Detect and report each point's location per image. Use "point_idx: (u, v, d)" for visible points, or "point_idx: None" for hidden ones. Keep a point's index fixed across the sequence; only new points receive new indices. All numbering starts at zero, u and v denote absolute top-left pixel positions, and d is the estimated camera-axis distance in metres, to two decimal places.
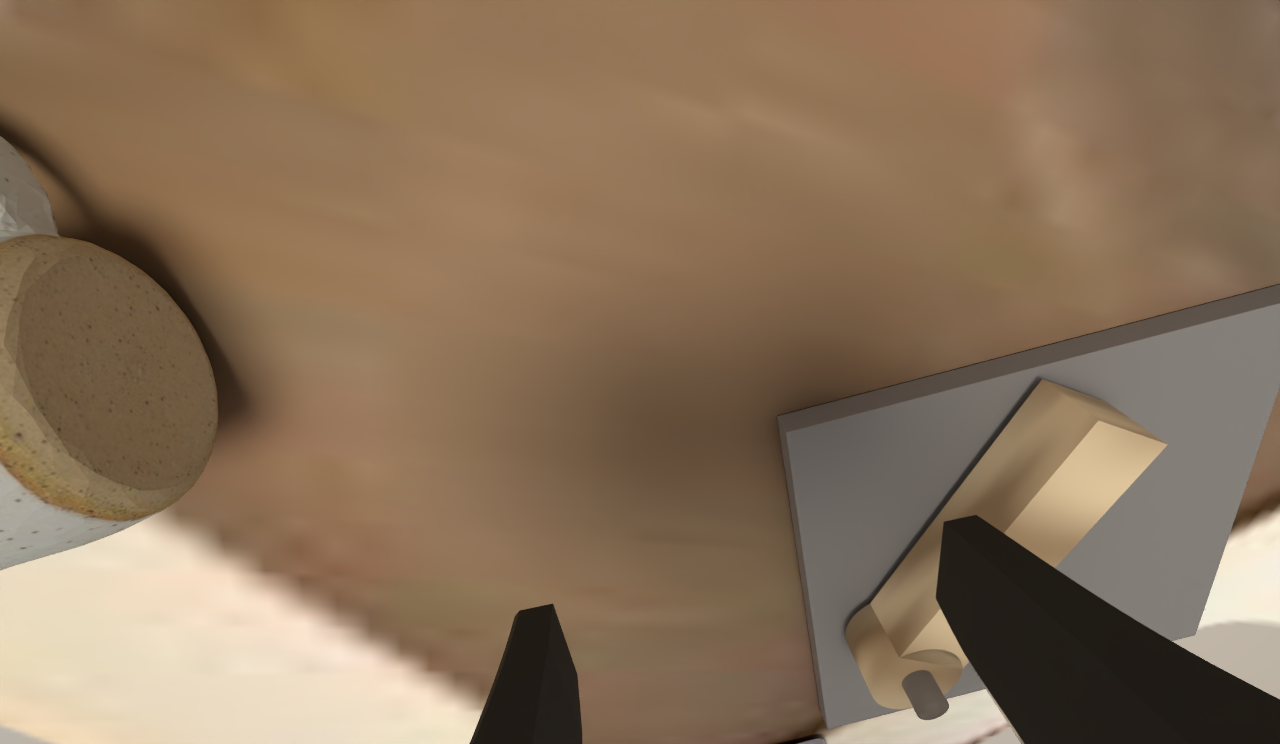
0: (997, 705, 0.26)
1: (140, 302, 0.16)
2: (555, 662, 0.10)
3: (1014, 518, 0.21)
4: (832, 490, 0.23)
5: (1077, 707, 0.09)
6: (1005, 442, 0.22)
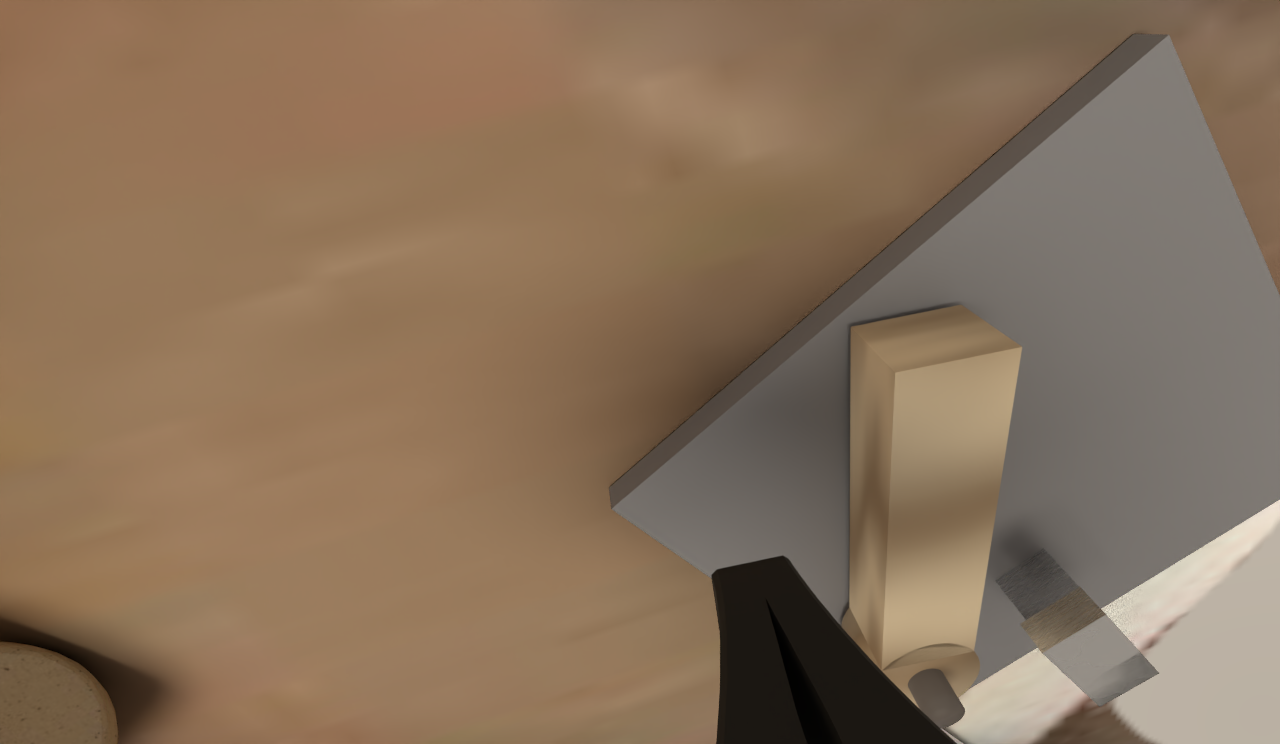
0: None
1: None
2: None
3: (888, 503, 0.16)
4: (711, 531, 0.20)
5: None
6: (856, 409, 0.17)
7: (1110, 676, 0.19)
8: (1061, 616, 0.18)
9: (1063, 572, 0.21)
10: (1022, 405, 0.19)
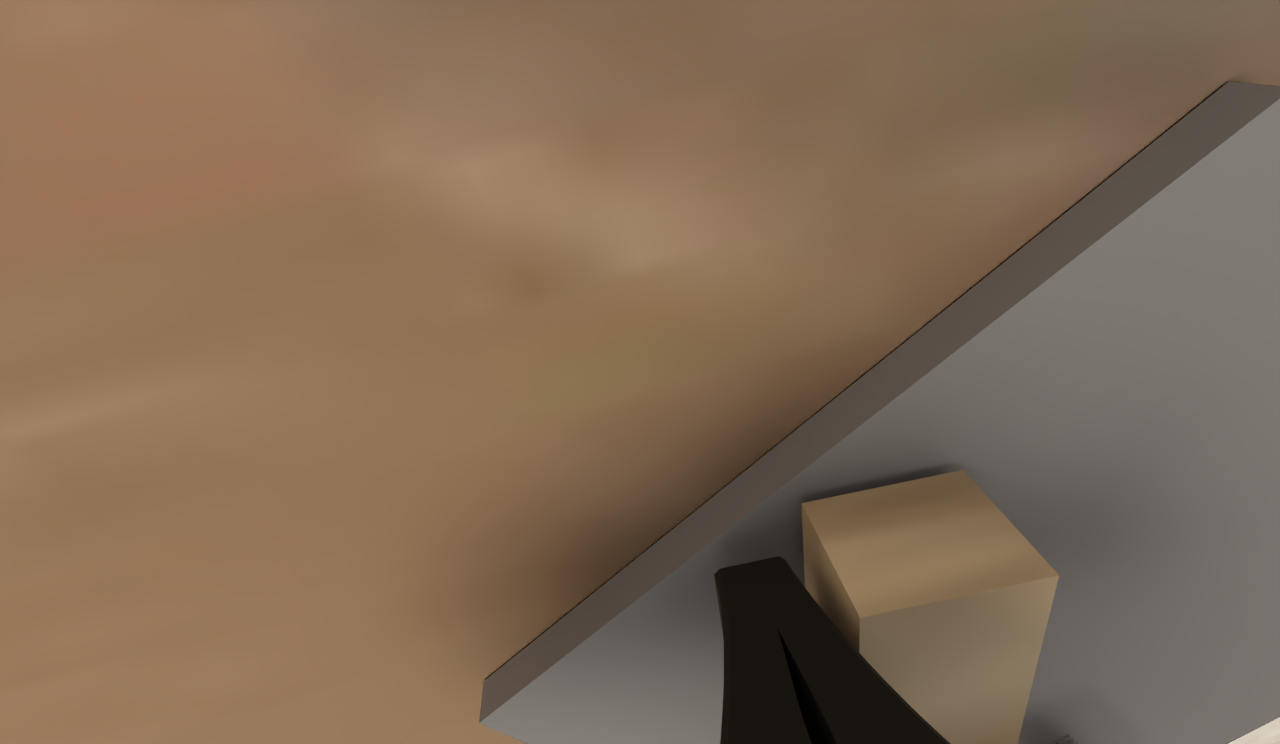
0: None
1: None
2: None
3: None
4: (623, 739, 0.15)
5: None
6: None
7: None
8: None
9: None
10: None
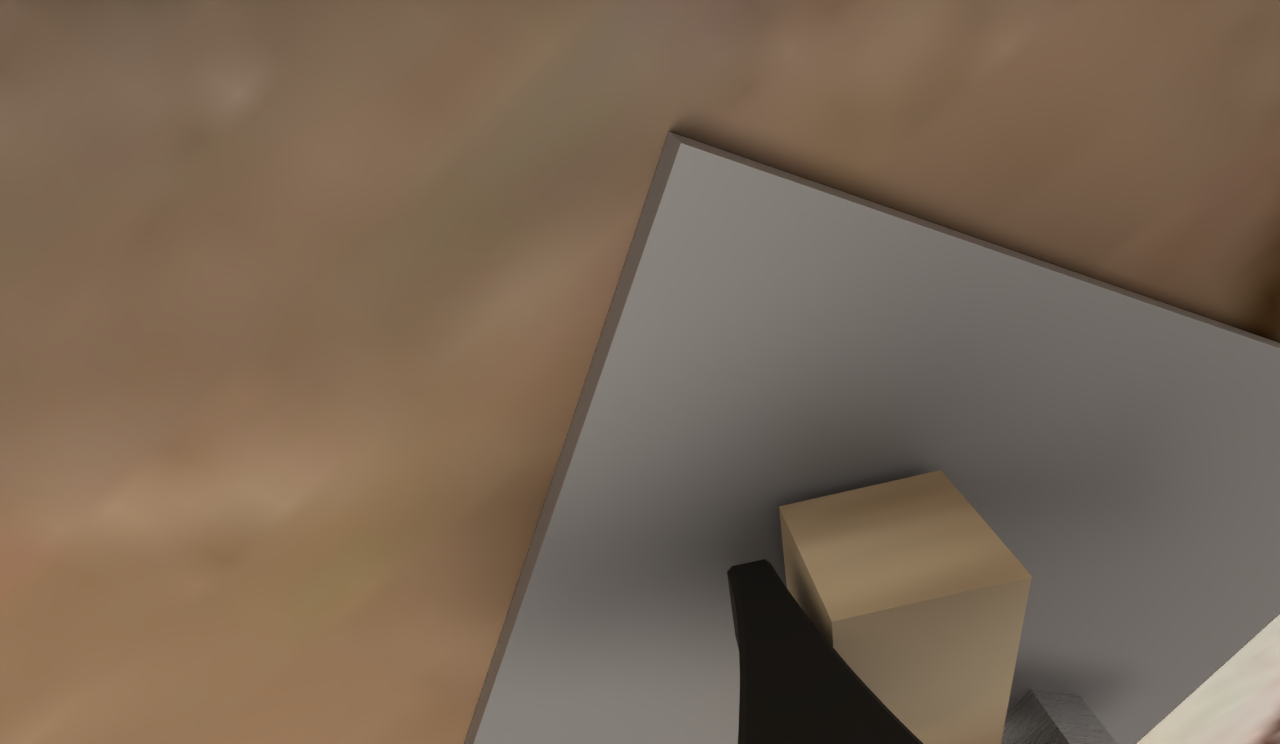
0: None
1: None
2: None
3: None
4: None
5: None
6: None
7: None
8: None
9: (1058, 732, 0.15)
10: None
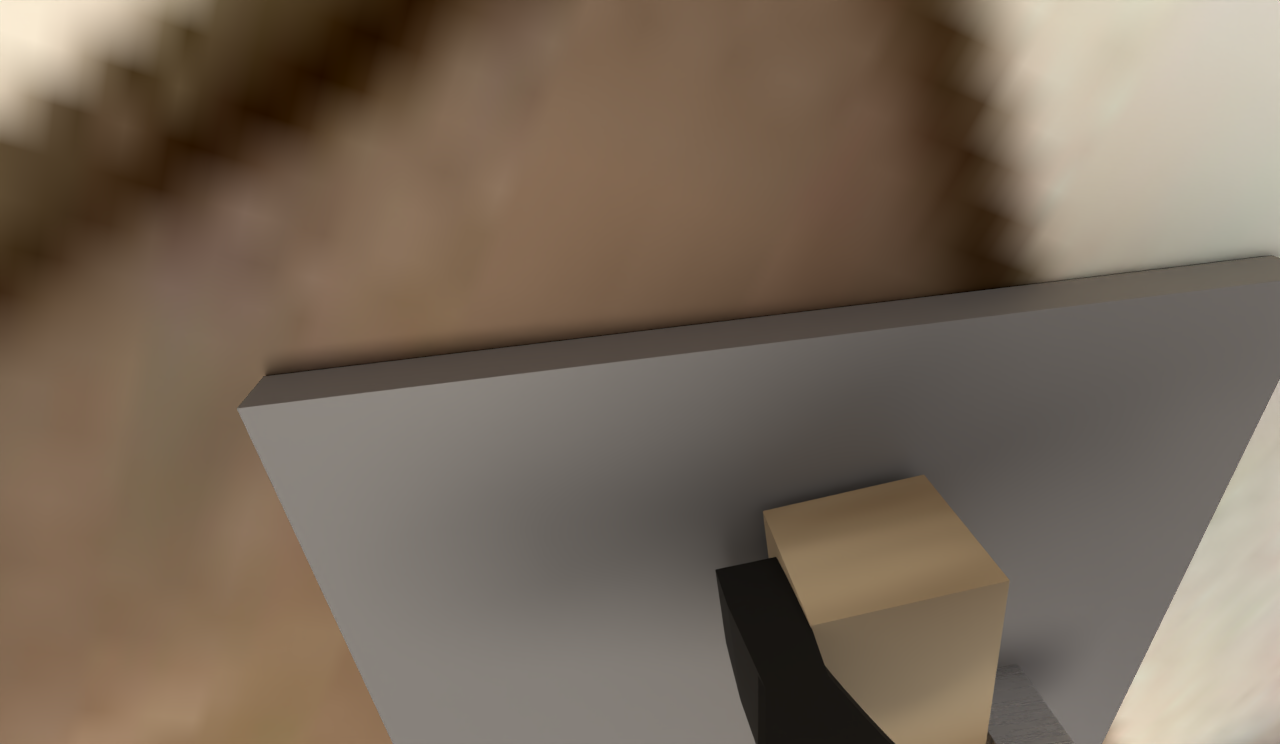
0: None
1: None
2: None
3: None
4: None
5: None
6: None
7: None
8: None
9: None
10: (688, 650, 0.14)
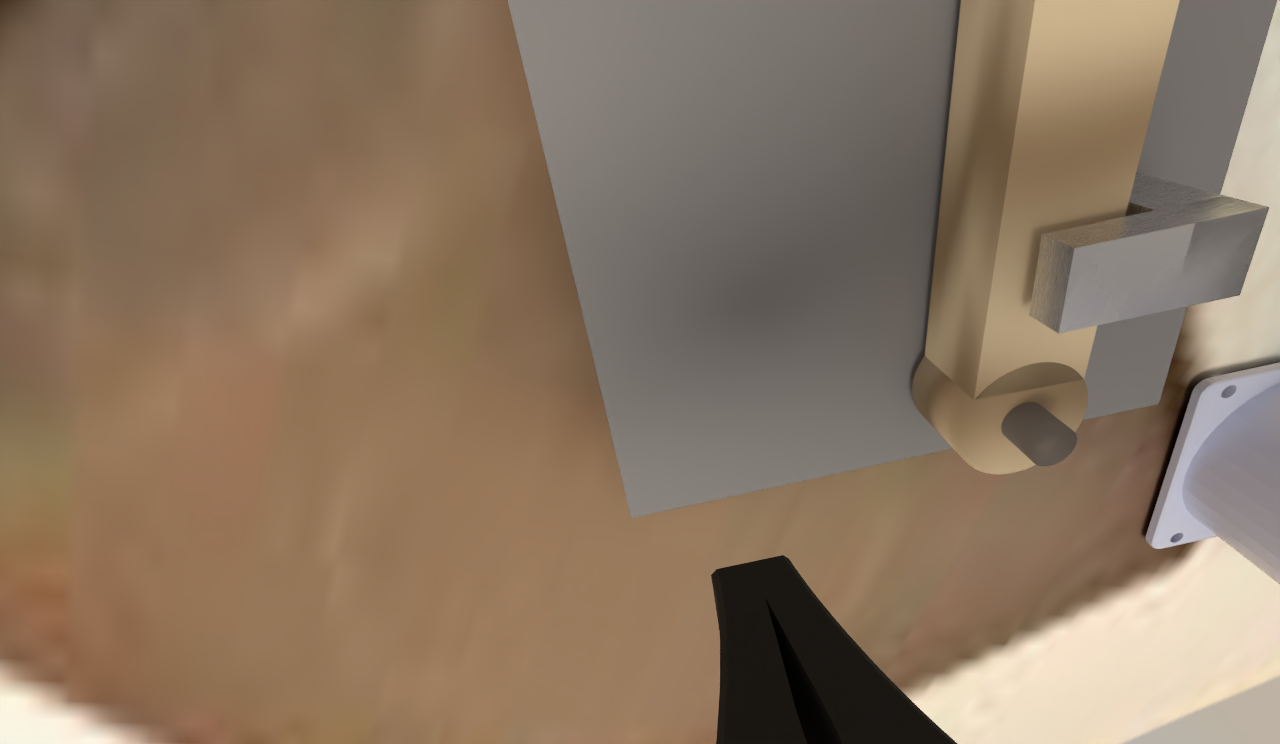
0: None
1: None
2: None
3: (1015, 115, 0.13)
4: (718, 465, 0.20)
5: None
6: (968, 26, 0.14)
7: (1197, 268, 0.14)
8: (1049, 280, 0.14)
9: None
10: (821, 134, 0.15)
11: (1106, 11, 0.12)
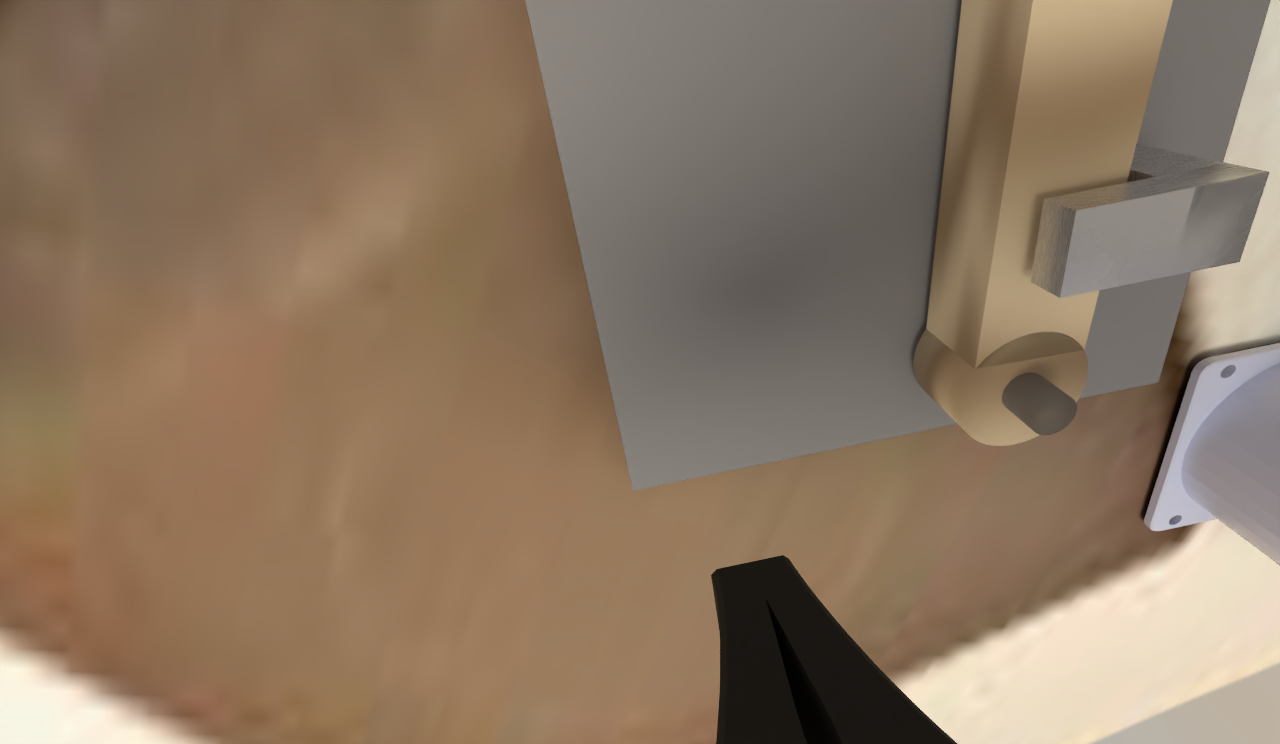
0: None
1: None
2: None
3: (1018, 79, 0.13)
4: (720, 438, 0.20)
5: None
6: None
7: (1197, 234, 0.14)
8: (1051, 244, 0.14)
9: None
10: (826, 102, 0.16)
11: None
